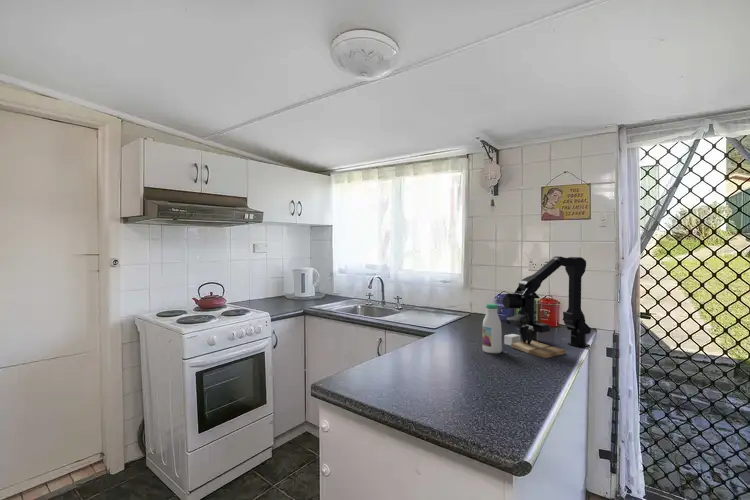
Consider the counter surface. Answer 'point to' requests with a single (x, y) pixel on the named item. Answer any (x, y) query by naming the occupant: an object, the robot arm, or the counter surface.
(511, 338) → the block
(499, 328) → the milk bottle
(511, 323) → the robot arm
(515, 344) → the plank
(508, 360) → the counter surface
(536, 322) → the supplement bottle
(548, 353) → the floorboard
